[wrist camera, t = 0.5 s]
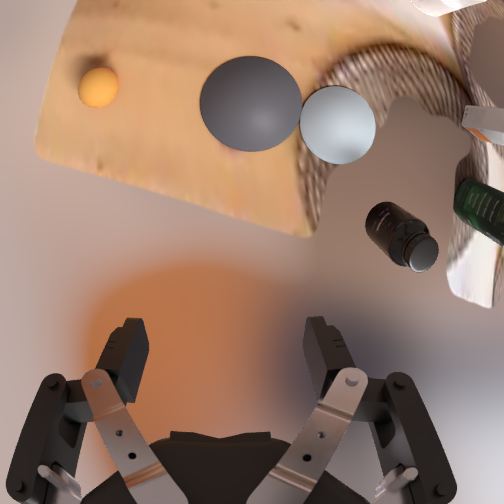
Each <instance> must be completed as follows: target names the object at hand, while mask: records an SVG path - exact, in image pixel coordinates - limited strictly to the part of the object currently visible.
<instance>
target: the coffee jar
mask: <svg viewBox="0 0 504 504" xmlns="http://www.w3.org/2000/svg"><path fill="white" fill-rule="evenodd" d="M454 210H455V213H456V214H457V215H458V217H459V218H460V219H461V220H462V221H463V222H465V223H466V224H467V225H469V226H471V227H473V228H474V229H476V230H478V231H479V232H481V233H482V234H484V235H485V236H487V237H489V238H490V239H492V240H493V241H495V242H496V243H498V244H499V245H501V246H502V247H504V192H501V191H499V190H497V189H495V188H492V187H490V186H488V185H486V184H484V183H482V182H479V181H477V180H474V179H472V178H468V179H466V180H464V181H463V183H462V184H461V185H460V187H459V189H458V191H457V193H456V196H455V200H454Z"/></svg>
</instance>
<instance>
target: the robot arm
mask: <svg viewBox="0 0 504 504" xmlns="http://www.w3.org/2000/svg"><path fill="white" fill-rule="evenodd" d="M303 350H304V355H305V358H306V362H307V365H308V369H309V373H310V376H311V380H312V384H313V387H314V391H315V395H316V398H317V401H318V403H320V402H321V404H318V405H317V407H316V408H315V410H314V411H313V413H312V415H311V416H310V417H309V419H308V421H307V422H306V424H305V425H304V427H303V428H302V430H301V431H300V433H299V434H298V436H297V437H296V439H295V440H294V441H293V443H292V444H290V443H288V442H285V441H283V440H279V439H275V438H271V434H270V432H256V433H243V434H239V435H235V436H231V437H226V438H220V439H219V438H214V437H210V436H206V435H202V434H198V433H193V432H177V431H171V432H170V437H169V438H164V439H161V440H158V441H155V442H153V443H151V444H150V445H148V444H147V442H146V441H145V439H144V438H143V436H142V434H141V433H140V431H139V430H138V428H137V426H136V425H135V423H134V421H133V420H132V418H131V416H130V414H129V413H128V411H127V409H126V404H127V402H130V403H135V399H136V396H137V392H138V388H139V385H140V381H141V378H142V374H143V370H144V367H145V363H146V360H147V356H148V353H149V341H148V337H147V334H146V330H145V326H144V322H143V320H142V318H127V319H126V320H125V323H124V325H123V327H118V328H116V329H115V330H114V331H113V332H112V333H111V335H110V337H109V339H108V342H107V343H106V345H105V348H104V350H103V352H102V354H101V356H100V359H99V361H98V363H97V366H96V368H95V369H92V370H90V371H88V372H86V373H85V374H84V376H83V377H82V379H80V380H71V381H66V379H65V378H64V377H63V376H62V375H61V374H58V373H54V374H50V375H48V376H47V377H45V378H44V379H43V381H42V383H41V385H40V387H39V390H38V392H37V394H36V396H35V399H34V401H33V403H32V406H31V408H30V411H29V413H28V416H27V418H26V421H25V424H24V426H23V429H22V431H21V434H20V437H19V440H18V443H17V446H16V449H15V452H14V455H13V458H12V461H11V465H10V468H9V472H8V475H7V479H6V488H7V492H8V494H9V495H10V496H11V497H12V498H13V499H14V500H16V501H17V502H19V503H21V504H370V503H369V502H368V501H367V500H366V499H365V498H364V497H362V496H361V495H359V494H358V493H356V492H355V491H353V490H352V489H350V488H349V487H348V486H346V485H345V484H343V483H342V482H341V481H339V480H338V479H337V478H335V477H334V476H332V475H331V474H330V473H328V472H327V471H326V470H325V468H326V466H327V465H328V463H329V461H330V460H331V458H332V456H333V454H334V452H335V451H336V449H337V447H338V445H339V443H340V441H341V439H342V437H343V436H344V434H345V432H346V429H347V428H348V426H349V424H350V421H351V420H353V421H365V422H369V426H370V429H371V432H372V436H373V439H374V443H375V446H376V450H377V453H378V457H379V460H380V464H381V468H382V472H383V476H384V478H383V479H382V480H380V482H379V483H378V484H377V486H376V490H375V492H376V493H375V494H376V496H375V500H374V502H373V504H448V503H449V502H451V500H452V499H453V498H454V497H455V495H456V491H457V484H456V481H455V478H454V475H453V473H452V470H451V467H450V465H449V462H448V459H447V457H446V454H445V452H444V449H443V447H442V444H441V442H440V439H439V437H438V435H437V432H436V430H435V427H434V425H433V423H432V421H431V418H430V416H429V414H428V412H427V409H426V407H425V405H424V403H423V401H422V399H421V396H420V394H419V392H418V390H417V388H416V386H415V384H414V382H413V380H412V378H411V377H410V376H408V375H406V374H405V373H402V372H394V373H391V374H389V375H388V376H387V378H386V380H384V379H373V378H369V377H367V376H366V374H365V373H364V372H363V371H361V370H359V369H357V368H356V366H355V364H354V362H353V360H352V357H351V355H350V353H349V350H348V348H347V347H346V344H345V342H344V341H343V337H342V335H341V333H340V331H339V330H338V329H336V328H335V327H334V326H333V325H332V326H327V325H326V322H325V320H324V318H323V316H316V317H315V316H314V317H307V319H306V325H305V331H304V338H303ZM93 421H94V422H95V424H96V427H97V429H98V431H99V433H100V435H101V437H102V439H103V442H104V444H105V446H106V448H107V450H108V452H109V454H110V455H111V457H112V459H113V461H114V463H115V465H116V467H117V469H118V471H117V472H115V473H114V474H113V475H112V476H110V477H109V478H108V479H106V480H105V481H104V482H103V483H101V484H100V485H99V486H97V487H96V488H95V489H93V490H92V491H91V492H89V493H88V494H87V495H86V496H85V497H84V498H83V499H82V497H81V488H80V484H79V483H78V481H77V480H76V479H75V473H76V467H77V463H78V459H79V454H80V450H81V445H82V441H83V437H84V433H85V429H86V425H87V422H93Z"/></svg>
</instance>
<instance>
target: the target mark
mask: <svg viewBox="0 0 504 504" xmlns="http://www.w3.org/2000/svg"><path fill="white" fill-rule="evenodd" d="M301 112H302V97H301V93H300V89H299V87H298V85H297V83H296V81H295V79H294V78H293V77H292V75H291V74H290V73H289V72H288V71H287V70H286V69H285V68H283V67H282V66H280V65H279V64H277V63H275V62H273V61H271V60H268V59H264V58H259V57H242V58H238V59H234V60H232V61H229V62H227V63H225V64H223V65H222V66H220V67H219V68H218V69H217V70H216V71H214V72H213V73H212V75H211V76H210V77H209V79H208V80H207V82H206V83H205V86H204V88H203V91H202V95H201V114H202V117H203V120H204V122H205V125H206V126H207V128H208V130H209V131H210V132H211V133H212V135H213V136H214V137H215V138H216V139H218V140H219V141H220V142H222V143H223V144H225V145H227V146H228V147H231V148H233V149H236V150H241V151H248V152H256V151H263V150H267V149H270V148H272V147H275V146H276V145H278V144H280V143H281V142H283V141H284V140H286V139H287V138H288V137H289V136H290V135H291V133H292V132H293V131H294V129H295V128H296V126H297V124H298V122H299V120H300V116H301Z"/></svg>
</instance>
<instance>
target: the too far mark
mask: <svg viewBox="0 0 504 504" xmlns="http://www.w3.org/2000/svg"><path fill="white" fill-rule="evenodd" d="M300 129H301V133H302V137H303V139H304V141H305V143H306V145H307V146H308V148H309V149H310V150H311V151H312V152H313V153H314V154H315V155H316V156H317V157H319V158H320V159H322V160H324V161H326V162H329V163H334V164H347V163H351V162H354V161H356V160H358V159H359V158H361V157H362V156H363V155H364V154H365V153H366V152H367V151H368V150H369V148H370V147H371V145H372V142H373V140H374V136H375V120H374V116H373V113H372V110H371V108H370V107H369V105H368V103H367V102H366V101H365V100H364V99H363V98H362V97H361V96H360V95H359V94H357V93H356V92H354V91H353V90H350V89H348V88H344V87H339V86H332V87H326V88H323V89H321V90H318V91H317V92H315V93H314V94H313V95H311V96H310V97H309V99H308V100H307V101H306V103H305V104H304V106H303V109H302V112H301V116H300Z"/></svg>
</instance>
